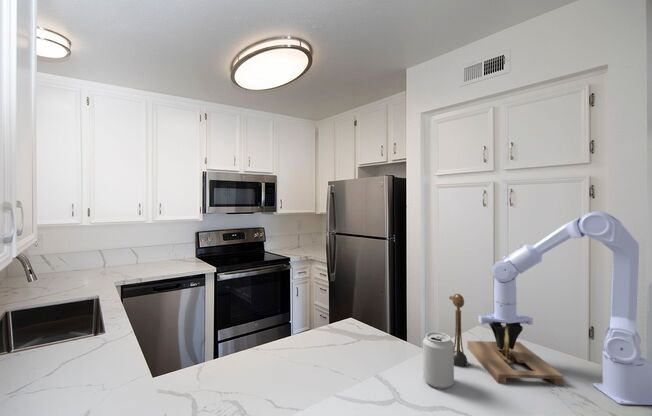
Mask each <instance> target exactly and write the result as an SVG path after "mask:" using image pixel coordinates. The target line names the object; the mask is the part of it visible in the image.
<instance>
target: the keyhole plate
mask: <svg viewBox="0 0 652 416" xmlns="http://www.w3.org/2000/svg"><path fill="white" fill-rule="evenodd" d="M466 343H467V346H466V347H467V349H468V351H469V352H470V353H471V355H473V356H474V358H475V359H476V360H477V361H478V362H479V363H480V365H482V366H483V368H484V369H485V370H486V371H487V372H488V373H489V375H490V376H491V377H492V378H493V379H494V380H495V382H497V384H507V378H508V379H509V378H510V379H512V378H513V379H548V380H549V381H550V382H551V383H553V384H554V385H559V386H560V385H561V386H563V385H564V375H563V374H561V372H559V371H558V370H556V369H555V368H554V367H553V366H551V365H550V364H549V363H548V362H546V361H544V360H543V359H542V358H541V357H540V356H538V355H537V354H535V353H534V352H533V351H532V350H531V349H529V348H528V347H526V345H524V344H523V343H521V342H520V341H516V342H515V346H514V349H513V350H511V349H510V348H509V356H510V357H512V358H513V360H515V361H516V362H518V363H520V364H526V365H527V367H528V368H530V369H531V370H514V369H513V368H512V367H511V366H510V364H507V363H508V359H507V358H506V357H505V356H503V355H502V349H499V348H498V347H497V343H496V341H493V340H492V341H491V340H490V341H484V340H467V342H466Z"/></svg>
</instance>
